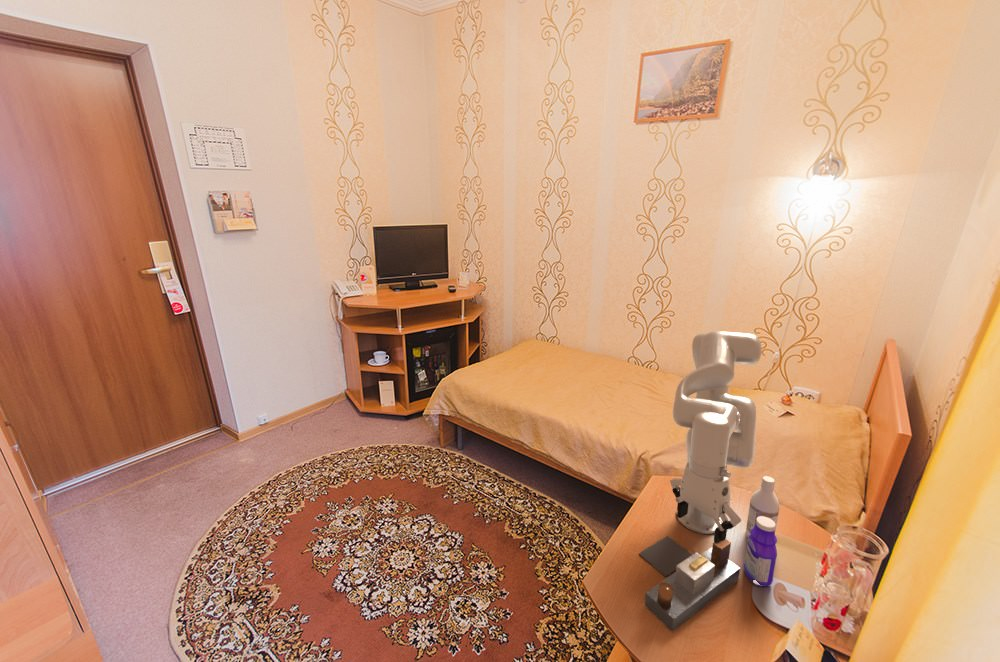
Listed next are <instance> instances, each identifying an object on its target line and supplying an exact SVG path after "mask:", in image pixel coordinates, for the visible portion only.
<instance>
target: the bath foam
mask: <svg viewBox="0 0 1000 662" xmlns="http://www.w3.org/2000/svg"><path fill="white" fill-rule="evenodd" d="M775 483H776V481H775V479H774V478H773V477H771V476H768V475H765V476H763V477H762V479H761V485H760V486H761V487H760V488H758V489H757V490H756V491H753V494H752V495H751V498H750V499H749V500H750V501H749V508H748V514H747V521H746V527H745V535H746V537H747V538H748V537H749V535H751V529H753V528H754V527H755V524H756V519H757V517H759V516H764V517H767V518H770V519H771V520H773V521H774V522H775V532H776V529H777V524H778V520H779V519H778V518H779V511H780V502H779V499H778V497H777V495H776V494H775V492H774V489H775Z"/></svg>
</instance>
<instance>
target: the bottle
mask: <svg viewBox="0 0 1000 662" xmlns="http://www.w3.org/2000/svg"><path fill="white" fill-rule="evenodd" d="M777 542H778V538H777V535H776V531H775V522H774V521H773V520H771V519H770V518H767V517H764V516H759V517H757V519H756V524H755V527H754V528H753V529H751V535H749V537H747V543H746V549H745V556H744V561H743V568H744V569H743V570H744V573H745V574H746V576H747V578H748V580H749V581H750V582H751V583H753V580H756V581H757V582H758V583H759V584H760V585H766V586H765V587H770V586H771V585H772V584H773V581H774V576H775V575H774V574H775V568H776V562H777V556H778V551H777V545H776V544H777ZM769 585H770V586H769Z"/></svg>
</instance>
